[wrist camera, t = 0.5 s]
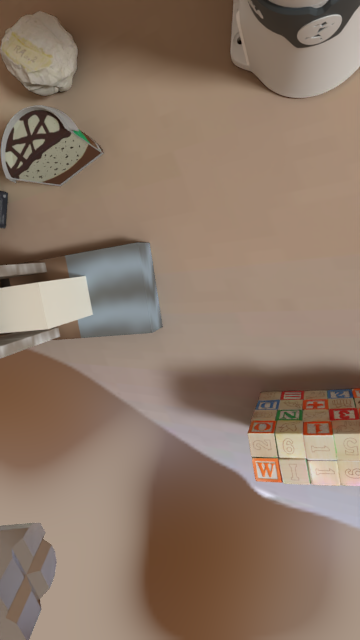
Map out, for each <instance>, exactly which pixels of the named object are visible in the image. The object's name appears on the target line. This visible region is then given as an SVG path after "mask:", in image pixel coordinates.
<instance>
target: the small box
mask: <svg viewBox="0 0 360 640" xmlns="http://www.w3.org/2000/svg"><path fill="white" fill-rule="evenodd" d="M7 199H8V193H6V192H3V191H0V228H5V227H6V212H7Z"/></svg>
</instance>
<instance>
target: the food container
mask: <svg viewBox="0 0 360 640" xmlns="http://www.w3.org/2000/svg"><path fill="white" fill-rule="evenodd" d="M103 153H104V152H103V150H102V148H101V147H100V146H99V145H98V144H97V143H96V142H95V141H94V140H93V139H92V138H90V137H89V136H87V135H86V134H85V133H83V132H82V131H80V130H79V129H78V128H77V126H76V125H75V123H74V122H73V121H72V119H71V118H70V117H69V116H67V115H66V114H65V113H64V112H62V111H60V110H58V109H55V108H52V107H47V106H41V105H38V106H30V107H27V108H24V109H22V110H20V111H19V112H18V113H16V114H15V115H14V116H13V117H12V118H11V120H10V121H9V123H8V124H7V127H6V129H5V131H4V134H3V137H2V143H1V162H2V167H3V171H4V174H5V176H6V178H7V179H9V180H10V181H12V182H14V183H17V182H16V180H18V181H25V182H32V183H40V184H47V185H54V186H62V185H63V184H64V183H66V182H67V181H68V180H69V179H71V178H72V177H73V176H75V175H76V174H77V173H79V172H80V171H81V170H83V169H84V168H85V167H86V166H88V165H89V164H90V163H92V162H93V161H94V160H96V159H97V158H98V157H100V156H101V155H102V154H103Z"/></svg>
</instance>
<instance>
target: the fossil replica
mask: <svg viewBox="0 0 360 640" xmlns="http://www.w3.org/2000/svg"><path fill="white" fill-rule="evenodd" d="M0 53H1V56H2V60H3V61H4V63H5V64H6V67H7V69H8V71H10V72H11V74H12V75H14V76H15V77H16V78H17V79H18V80H19V81H20V82H21V83H22V84H23V85H24V86H25V87H26V88H27V89H28V91H31V92H33V93H35V94H38V95H42V96H47V95H52V94H54V93H57V92H58V91H60V92H62V91H67V90H69V89H70V88H71V86H72V77H73V75H74V74H75V72H76V70H77V56H78V49H77V46H76V44H75V42H74V41H73V37H72V35H71V34H70V33H68V32H67V31H66V30H65V29H64V28H63V27H62V26H61V24H60V22H59V21H58V19H57V17H55V16H53V15H49V14H47V13H45V12H41V11H38V12H37V13H35V14H33V15H29V14H28V15H24V16H23V17H21V18H20V19H19V20H18V21H17V23H16V24H15V25H14V26H13V27H12V28H8V29H7V30H6V31H5V36H4V37H3V39H2V44H1V47H0Z"/></svg>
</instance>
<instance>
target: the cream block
mask: <svg viewBox="0 0 360 640" xmlns="http://www.w3.org/2000/svg"><path fill="white" fill-rule="evenodd" d="M91 315H93V313H92V307H91V302H90V297H89V291H88V286H87V281H86V276H82V277H74V278H67V279H59V280H52V281H45V282H37V283H31V284H24V285H17V286H11V287H4V288H0V333H10V332H22V331H33V330H44V329H50V328H53V327H56V326H60V325H63V324H66V323H69V322H72V321H75V320H78V319H81V318H84V317H88V316H91Z"/></svg>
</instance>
